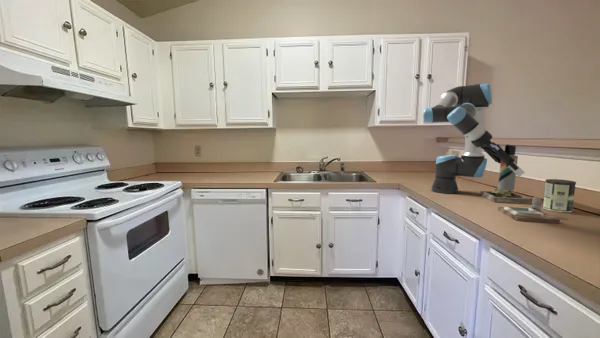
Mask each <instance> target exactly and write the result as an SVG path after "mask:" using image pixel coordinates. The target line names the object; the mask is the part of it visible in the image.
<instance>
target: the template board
mask: <svg viewBox="0 0 600 338" xmlns="http://www.w3.org/2000/svg"><path fill="white" fill-rule="evenodd" d="M542 200H543V199H542V198H541V197H532V202H531V207H524V206H522V207H519V206H503V207H502V206H498V208H497V211H498V212H500V213H502V214H504V215H505V216H508V217H509V218H511V219H513V220H515V221H518V222H519V221H520V222H532V223H533V222H535V223H538V222H539V223H546V224H547V223H551V224H561V219H559V218H558V217H555V216H552V215H550V214H548V213H545V212H543V211H541V209H542Z"/></svg>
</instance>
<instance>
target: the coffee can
mask: <svg viewBox="0 0 600 338" xmlns="http://www.w3.org/2000/svg"><path fill="white" fill-rule="evenodd" d="M576 184H577V181H575V180H574V181H573V180H568V179H567V180H566V179H558V178H555V179H553V178H551V179H548V178H547V179H545V186H544V195H543V202H542V203H543V204H542V205H543V206H542V209H544V210H547V211H549V212H550V211H551V212H556V213H565V214H566V213H567V214H568V213H573V207H574V200H575V193H576V192H575V190H576Z"/></svg>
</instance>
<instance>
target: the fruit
mask: <svg viewBox="0 0 600 338" xmlns="http://www.w3.org/2000/svg"><path fill="white" fill-rule="evenodd" d="M491 191H492V192H491V194H492V195H493V196H495V197H505V198H512V197H511V192H512V191H508V190H501V189H498V187H497V188H494V190H491Z"/></svg>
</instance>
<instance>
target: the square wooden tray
mask: <svg viewBox="0 0 600 338" xmlns="http://www.w3.org/2000/svg"><path fill="white" fill-rule="evenodd" d="M492 191H493V190H491V191H487V190H486V191H485V190H480V196H481V197H482V198H485V199H487V200H489V201H491V202H492V203H501V204H502V203H503V204H504V203H506V204H525V205H526V204H527V205H532V200H533V198H530V197H527V196H524V195H523V194H519V193H517V192H514V191H511V198H505V197H495V196H493V195H492V194H491V192H492Z"/></svg>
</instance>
